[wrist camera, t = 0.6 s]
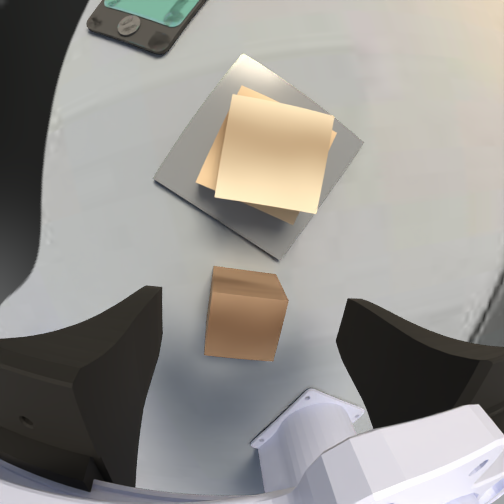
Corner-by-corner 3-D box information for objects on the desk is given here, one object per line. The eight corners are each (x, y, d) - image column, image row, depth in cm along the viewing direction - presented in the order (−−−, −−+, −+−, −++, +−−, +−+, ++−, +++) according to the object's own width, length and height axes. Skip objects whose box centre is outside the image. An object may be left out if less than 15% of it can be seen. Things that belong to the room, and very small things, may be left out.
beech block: (303, 206, 17) (316, 214, 15) (215, 192, 17) (214, 197, 14) (319, 121, 16) (334, 116, 14) (231, 103, 15) (232, 94, 13)
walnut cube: (264, 327, 23) (273, 361, 19) (206, 320, 22) (204, 355, 18) (275, 273, 22) (288, 300, 18) (213, 265, 21) (212, 291, 17)
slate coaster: (278, 258, 21) (280, 260, 21) (154, 177, 19) (152, 178, 18) (360, 142, 19) (364, 142, 19) (242, 55, 17) (242, 53, 16)
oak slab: (284, 217, 20) (293, 225, 18) (199, 179, 19) (195, 182, 16) (323, 135, 19) (337, 133, 16) (239, 94, 17) (241, 85, 15)
